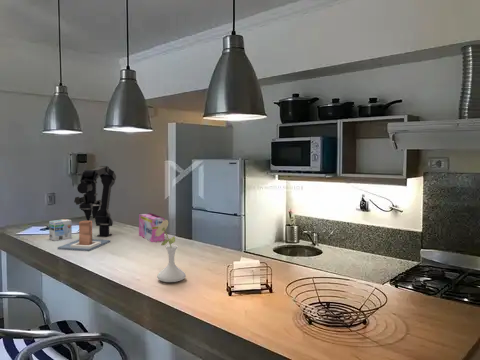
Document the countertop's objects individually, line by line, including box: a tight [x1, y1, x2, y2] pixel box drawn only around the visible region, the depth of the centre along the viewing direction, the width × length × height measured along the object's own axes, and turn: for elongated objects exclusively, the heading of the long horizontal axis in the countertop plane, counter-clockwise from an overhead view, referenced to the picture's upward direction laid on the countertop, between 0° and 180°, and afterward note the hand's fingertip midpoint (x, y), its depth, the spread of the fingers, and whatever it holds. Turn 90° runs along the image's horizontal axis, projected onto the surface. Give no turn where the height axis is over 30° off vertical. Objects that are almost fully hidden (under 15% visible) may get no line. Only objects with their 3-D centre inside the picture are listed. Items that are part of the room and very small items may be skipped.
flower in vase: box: [155, 219, 187, 283], centre depth 159 cm, size 13×11×25 cm
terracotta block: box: [78, 220, 93, 245], centre depth 213 cm, size 5×5×13 cm
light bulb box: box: [48, 218, 73, 241], centre depth 234 cm, size 11×7×11 cm, turn 143°
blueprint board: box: [57, 238, 111, 252], centre depth 218 cm, size 22×18×2 cm
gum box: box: [138, 212, 166, 243], centre depth 240 cm, size 24×8×14 cm, turn 34°
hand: (91, 219), depth 225 cm, fingers open, 9 cm apart
